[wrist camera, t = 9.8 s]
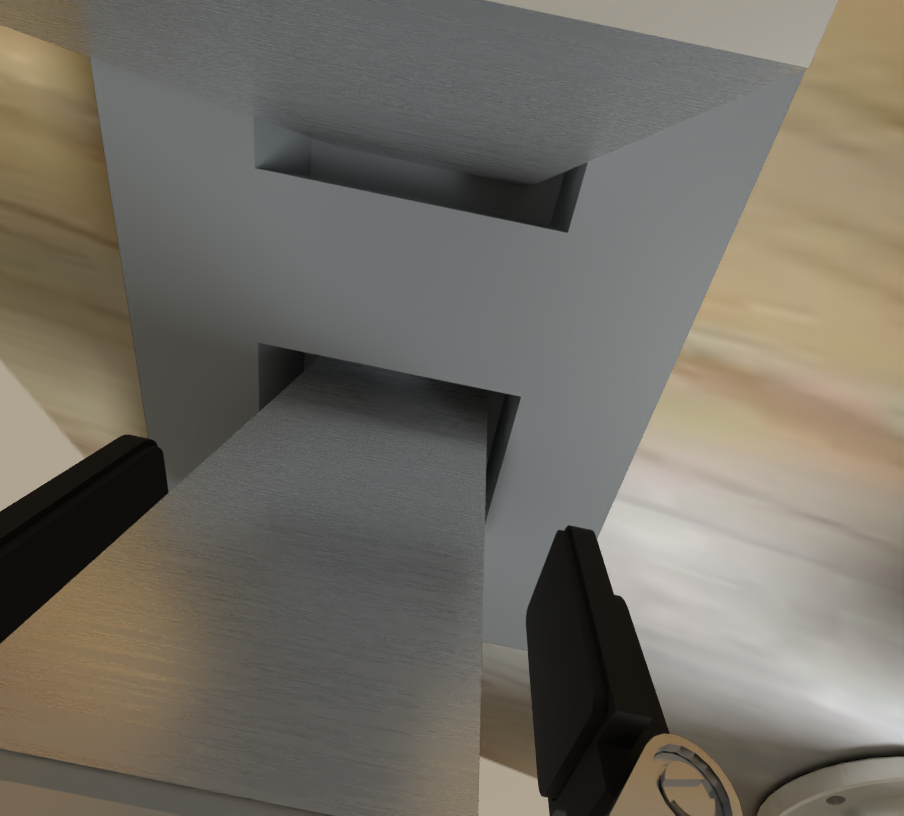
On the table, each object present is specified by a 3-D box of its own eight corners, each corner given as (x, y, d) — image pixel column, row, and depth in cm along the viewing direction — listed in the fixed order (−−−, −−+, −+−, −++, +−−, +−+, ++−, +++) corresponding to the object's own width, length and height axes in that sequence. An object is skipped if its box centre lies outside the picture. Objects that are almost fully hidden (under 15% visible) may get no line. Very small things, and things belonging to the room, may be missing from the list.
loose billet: (458, 500, 16) (401, 1001, 6) (325, 473, 16) (44, 928, 6) (488, 376, 14) (477, 844, 4) (333, 344, 14) (-97, 730, 4)
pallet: (535, 564, 18) (545, 654, 15) (233, 503, 18) (169, 577, 14) (832, -236, 8) (1084, -558, 5) (186, -373, 8) (-42, -803, 5)
